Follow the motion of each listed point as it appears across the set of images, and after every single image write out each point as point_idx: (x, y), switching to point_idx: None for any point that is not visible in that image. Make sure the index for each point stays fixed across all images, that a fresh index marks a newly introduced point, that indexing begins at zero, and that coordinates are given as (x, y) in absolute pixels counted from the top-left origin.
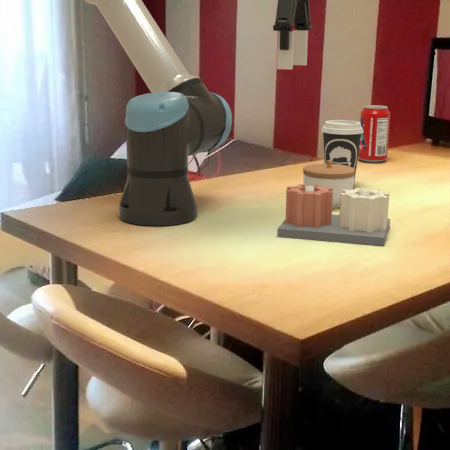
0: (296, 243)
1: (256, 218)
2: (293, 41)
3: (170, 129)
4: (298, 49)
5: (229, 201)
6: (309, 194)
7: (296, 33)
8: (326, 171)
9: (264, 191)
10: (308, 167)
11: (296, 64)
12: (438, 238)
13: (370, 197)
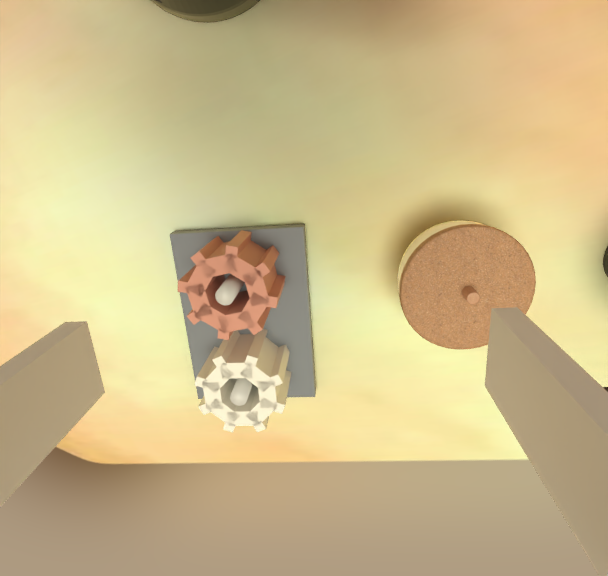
0: (154, 270)
1: (279, 154)
2: (567, 393)
3: None
4: (529, 395)
5: (409, 33)
6: (190, 301)
7: (603, 469)
8: (417, 294)
9: (548, 85)
10: (458, 242)
11: (489, 334)
12: (278, 454)
13: (212, 407)
